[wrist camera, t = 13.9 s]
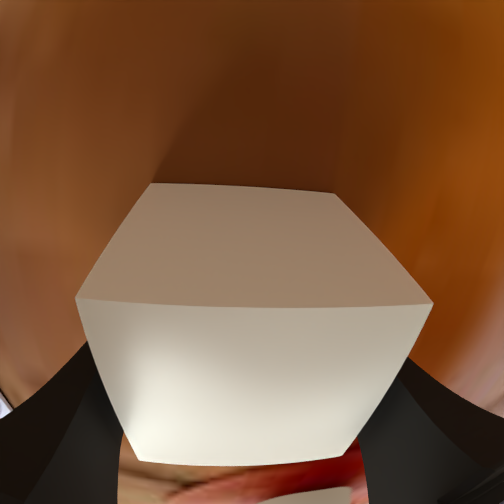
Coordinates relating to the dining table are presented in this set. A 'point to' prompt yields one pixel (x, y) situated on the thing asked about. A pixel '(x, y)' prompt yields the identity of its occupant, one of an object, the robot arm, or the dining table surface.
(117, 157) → the dining table surface
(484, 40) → the dining table surface
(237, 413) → the white cube block
